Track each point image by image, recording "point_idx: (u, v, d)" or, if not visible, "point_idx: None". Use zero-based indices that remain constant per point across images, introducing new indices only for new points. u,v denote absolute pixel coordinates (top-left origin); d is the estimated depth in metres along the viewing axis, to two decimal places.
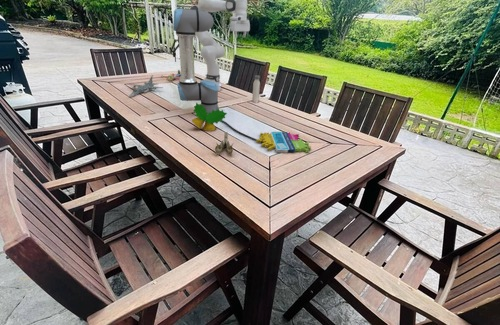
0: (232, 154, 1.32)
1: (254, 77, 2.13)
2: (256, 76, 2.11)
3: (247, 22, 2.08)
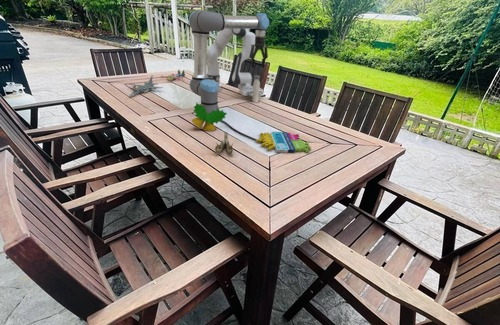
0: (232, 154, 1.32)
1: (254, 77, 2.13)
2: (256, 76, 2.11)
3: None
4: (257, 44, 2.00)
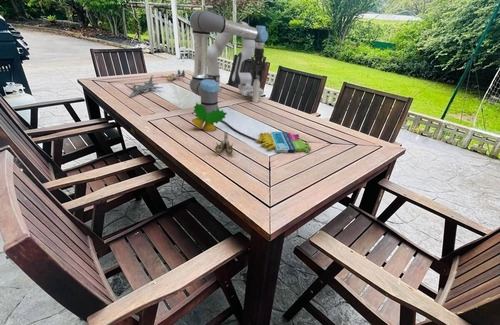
0: (232, 154, 1.32)
1: None
2: (256, 76, 2.11)
3: None
4: (256, 55, 2.03)
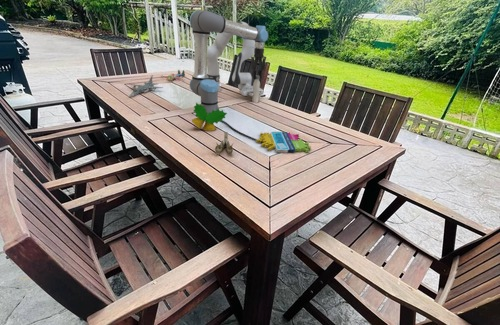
0: (232, 154, 1.32)
1: (258, 78, 2.12)
2: (259, 76, 2.13)
3: None
4: (256, 55, 2.03)
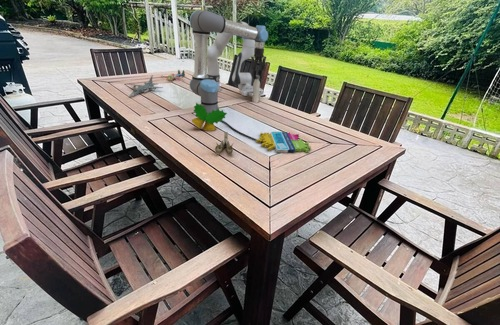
0: (232, 154, 1.32)
1: None
2: None
3: None
4: (256, 55, 2.03)
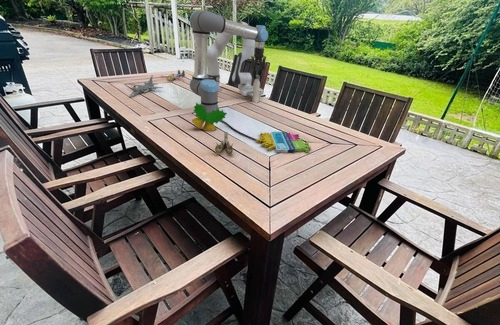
0: (232, 154, 1.32)
1: None
2: None
3: None
4: (256, 55, 2.03)
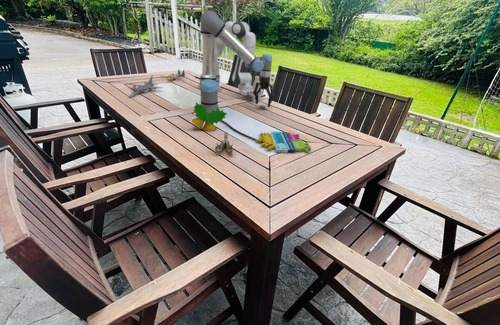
0: (232, 154, 1.32)
1: (263, 108, 2.05)
2: (265, 106, 2.06)
3: None
4: None
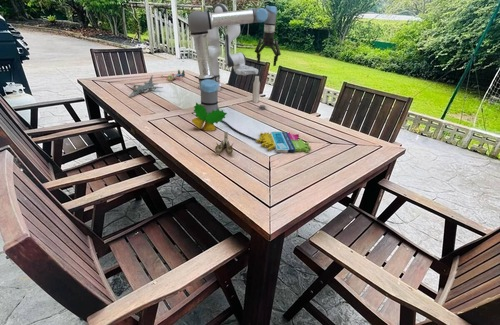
0: (232, 154, 1.32)
1: (263, 108, 2.05)
2: (265, 106, 2.06)
3: None
4: None
